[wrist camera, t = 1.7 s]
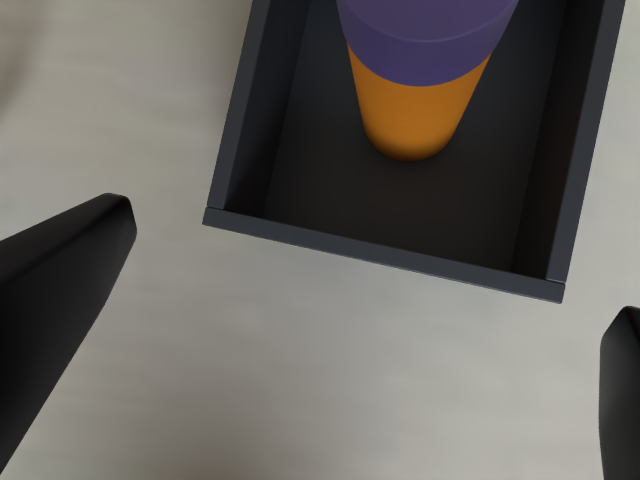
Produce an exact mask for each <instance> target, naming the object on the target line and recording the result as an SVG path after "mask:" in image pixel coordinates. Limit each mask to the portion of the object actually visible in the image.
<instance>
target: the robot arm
mask: <svg viewBox="0 0 640 480" xmlns="http://www.w3.org/2000/svg"><path fill="white" fill-rule="evenodd" d="M136 235H137V227H136V223H135V219H134V215H133V210H132V206H131V203H130V200H129V199H128V198H127V197H125V196H122V195H118V194H113V193H104V194H102V195H100V196H97V197H95V198H93V199H91V200H89V201H87V202H84V203H82V204H80V205H78V206H76V207H73V208H71V209H69V210H67V211H65V212H63V213H60V214H58V215H56V216H54V217H52V218H50V219H47V220H45V221H43V222H41V223H39V224H36V225H34V226H32V227H30V228H28V229H26V230H23V231H21V232H19V233H17V234H15V235H12V236H10V237H8V238H6V239H4V240H2V241H0V475H1V473H2V471H3V470H4V468H5V467H6V465H7V463H8V462H9V460H10V458H11V457H12V455H13V453H14V452H15V450H16V449H17V447H18V445H19V444H20V442H21V440H22V439H23V437H24V436H25V434H26V432H27V431H28V429H29V427H30V426H31V424H32V423H33V421H34V419H35V418H36V416H37V414H38V413H39V411H40V410H41V408H42V406H43V405H44V403H45V401H46V400H47V398H48V397H49V395H50V393H51V392H52V390H53V388H54V387H55V385H56V384H57V382H58V380H59V379H60V377H61V375H62V374H63V372H64V371H65V369H66V367H67V366H68V364H69V362H70V361H71V359H72V357H73V356H74V354H75V353H76V351H77V349H78V348H79V346H80V344H81V343H82V341H83V340H84V338H85V336H86V335H87V333H88V331H89V330H90V328H91V327H92V325H93V323H94V322H95V320H96V318H97V317H98V315H99V313H100V312H101V310H102V308H103V307H104V305H105V303H106V301H107V299H108V297H109V295H110V293H111V291H112V289H113V287H114V284H115V282H116V280H117V278H118V276H119V274H120V272H121V269H122V267H123V265H124V263H125V261H126V259H127V257H128V254H129V252H130V250H131V248H132V246H133V244H134V242H135V239H136ZM599 437H600V448H601V457H602V467H603V476H604V480H640V308H638V307H633V306H626V307H624V308H622V310H621V311H620V312H619V313H618V315H617V316H616V318H615V319H614V320H613V322H612V323H611V325H610V326H609V327H608V329H607V330H606V332H605V333H604V335H603V337H602V340H601V345H600V379H599Z"/></svg>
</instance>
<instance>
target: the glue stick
mask: <svg viewBox="0 0 640 480" xmlns="http://www.w3.org/2000/svg"><path fill="white" fill-rule="evenodd" d="M518 1H519V0H336V2H337V7H338V12H339V16H340V21H341V26H342V30H343V33H344V36H345V38H346V41H347V46H348V51H349V56H350V61H351V66H352V71H353V76H354V81H355V86H356V91H357V96H358V102H359V107H360V112H361V117H362V122H363V126H364V130H365V133H366V135H367V137H368V139H369V141H370V142H371V143H372V145H373V146H374V147H375V148H376V149H377V150H378V151H379V152H381V153H382V154H384V155H385V156H387V157H389V158H392V159H394V160H398V161H404V162H414V161H420V160H424V159H427V158H429V157H431V156H433V155H435V154H436V153H438V152H439V151H441V150H442V149H443V148H444V147H445V146H446V145H447V144H448V142H449V141H450V140H451V138H452V136H453V134H454V132H455V130H456V128H457V126H458V124H459V122H460V119H461V117H462V115H463V113H464V111H465V109H466V107H467V104H468V102H469V100H470V98H471V96H472V94H473V92H474V90H475V87H476V85H477V83H478V81H479V79H480V77H481V75H482V72H483V70H484V68H485V66H486V64H487V62H488V60H489V57H490V55H491V53H492V51H493V50H494V49H495V47H496V45H497V44H498V42H499V41H500V39H501V37H502V35H503V33H504V31H505V29H506V27H507V24H508V22H509V20H510V18H511V16H512V14H513V12H514V10H515V8H516V6H517V4H518Z"/></svg>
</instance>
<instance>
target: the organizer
mask: <svg viewBox="0 0 640 480" xmlns="http://www.w3.org/2000/svg"><path fill="white" fill-rule="evenodd" d="M625 1H626V0H519V1H518V4H517V6H516V8H515V10H514V12H513V14H512V16H511V18H510V20H509V22H508V24H507V27H506V29H505V31H504V33H503V35H502V37H501V39H500V41H499V42H498V44H497V45H496V47H495V49H494V50H493V51H492V53H491V55H490V57H489V60H488V62H487V64H486V66H485V68H484V70H483V72H482V75H481V77H480V79H479V81H478V83H477V85H476V87H475V90H474V92H473V94H472V96H471V98H470V100H469V102H468V104H467V107H466V109H465V111H464V113H463V115H462V117H461V119H460V122H459V124H458V126H457V128H456V130H455V132H454V134H453V136H452V138H451V140H450V141H449V142H448V144H447V145H446V146H445V147H444V148H443V149H442V150H441V151H439V152H438V153H436V154H435V155H433V156H431V157H429V158H427V159H424V160H420V161H414V162H404V161H398V160H394V159H392V158H389V157H387V156H385V155H384V154H382V153H381V152H379V151H378V150H377V149H376V148H375V147H374V146H373V145H372V143H371V142H370V141H369V139H368V137H367V135H366V133H365V130H364V126H363V122H362V117H361V112H360V107H359V102H358V96H357V91H356V86H355V81H354V76H353V71H352V66H351V61H350V56H349V51H348V46H347V41H346V38H345V36H344V33H343V30H342V26H341V21H340V16H339V12H338V7H337V2H336V0H253V3H252V7H251V12H250V16H249V21H248V25H247V30H246V34H245V38H244V43H243V47H242V52H241V56H240V60H239V65H238V69H237V74H236V78H235V82H234V87H233V91H232V96H231V100H230V104H229V109H228V113H227V118H226V122H225V126H224V131H223V135H222V140H221V144H220V148H219V153H218V157H217V162H216V166H215V170H214V175H213V179H212V184H211V188H210V192H209V197H208V201H207V206H208V207H206V209H205V213H204V218H203V222H202V224H203V225H206V226H211V227H215V228H219V229H224V230H228V231H233V232H237V233H241V234H246V235H250V236H255V237H259V238H264V239H268V240H273V241H277V242H282V243H286V244H291V245H295V246H300V247H304V248H309V249H313V250H318V251H322V252H327V253H331V254H336V255H340V256H345V257H349V258H354V259H358V260H363V261H367V262H372V263H376V264H381V265H385V266H390V267H395V268H399V269H404V270H408V271H413V272H417V273H422V274H426V275H431V276H435V277H440V278H444V279H449V280H453V281H458V282H462V283H467V284H471V285H476V286H480V287H485V288H489V289H494V290H498V291H503V292H507V293H512V294H516V295H521V296H526V297H530V298H535V299H539V300H544V301H549V302H553V303H558V304H561V303H562V300H563V295H564V290H565V284H564V283H566V280H567V275H568V270H569V266H570V261H571V256H572V252H573V247H574V242H575V237H576V233H577V228H578V223H579V218H580V214H581V209H582V204H583V200H584V195H585V190H586V185H587V181H588V176H589V171H590V166H591V162H592V157H593V152H594V147H595V143H596V138H597V133H598V129H599V124H600V119H601V114H602V110H603V105H604V100H605V95H606V91H607V86H608V81H609V76H610V72H611V67H612V62H613V58H614V53H615V48H616V43H617V39H618V34H619V29H620V24H621V20H622V15H623V10H624V5H625Z"/></svg>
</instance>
